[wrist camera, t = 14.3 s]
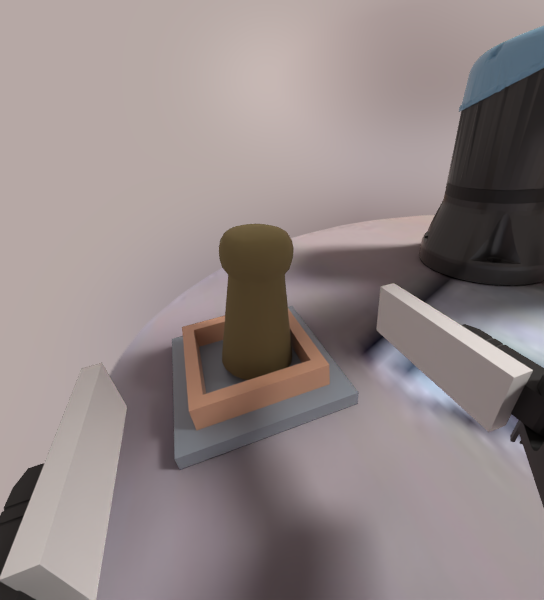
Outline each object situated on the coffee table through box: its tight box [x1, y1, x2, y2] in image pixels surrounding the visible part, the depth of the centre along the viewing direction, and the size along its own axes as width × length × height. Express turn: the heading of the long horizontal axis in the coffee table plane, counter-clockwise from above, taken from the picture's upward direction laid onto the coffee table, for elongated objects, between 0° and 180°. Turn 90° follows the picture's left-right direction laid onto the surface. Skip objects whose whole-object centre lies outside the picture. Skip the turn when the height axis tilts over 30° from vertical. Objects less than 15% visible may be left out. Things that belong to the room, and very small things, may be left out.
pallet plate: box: [172, 306, 358, 470], centre depth 24 cm, size 13×13×3 cm
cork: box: [219, 224, 293, 380], centre depth 22 cm, size 6×6×11 cm
